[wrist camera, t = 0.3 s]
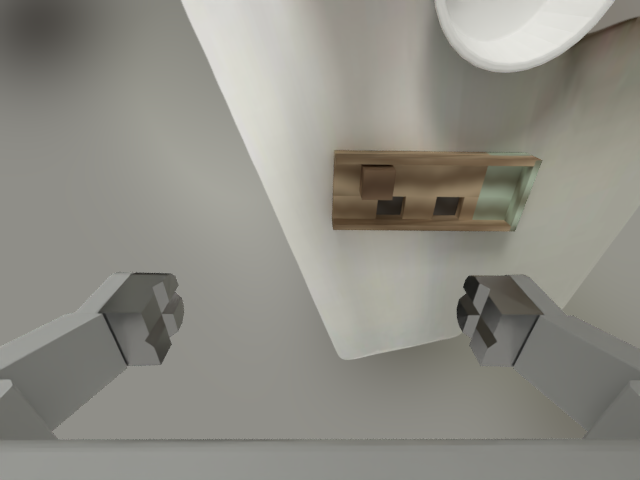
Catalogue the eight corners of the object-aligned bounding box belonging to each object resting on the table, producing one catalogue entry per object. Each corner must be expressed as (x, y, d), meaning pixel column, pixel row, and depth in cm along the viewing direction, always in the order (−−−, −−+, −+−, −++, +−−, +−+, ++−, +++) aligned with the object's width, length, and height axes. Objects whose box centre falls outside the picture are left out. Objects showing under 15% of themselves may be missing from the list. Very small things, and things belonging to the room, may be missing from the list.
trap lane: (334, 150, 53) (335, 157, 49) (525, 152, 53) (542, 160, 49) (331, 218, 59) (332, 229, 55) (502, 219, 60) (514, 231, 56)
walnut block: (361, 162, 52) (364, 170, 48) (391, 163, 52) (396, 170, 48) (359, 190, 54) (361, 199, 51) (387, 191, 54) (392, 200, 51)
